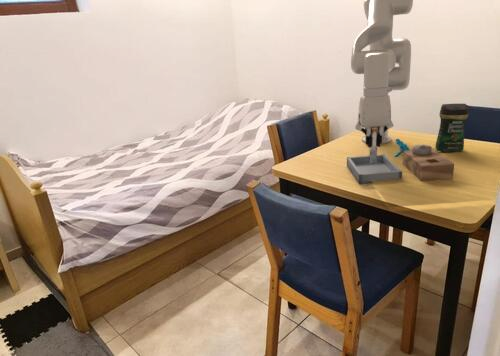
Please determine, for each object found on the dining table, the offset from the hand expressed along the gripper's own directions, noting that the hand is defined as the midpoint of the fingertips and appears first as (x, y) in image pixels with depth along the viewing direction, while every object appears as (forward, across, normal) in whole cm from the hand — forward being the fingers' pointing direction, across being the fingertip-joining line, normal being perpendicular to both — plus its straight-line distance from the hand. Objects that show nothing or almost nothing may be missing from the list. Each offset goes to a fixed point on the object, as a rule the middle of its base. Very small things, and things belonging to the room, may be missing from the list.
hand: (373, 145), depth 126 cm
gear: (+10, -16, -14) cm, 24 cm away
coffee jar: (+10, -35, -17) cm, 40 cm away
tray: (+10, 0, 0) cm, 10 cm away
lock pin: (+6, 0, 0) cm, 6 cm away
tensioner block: (+10, -17, +4) cm, 20 cm away
